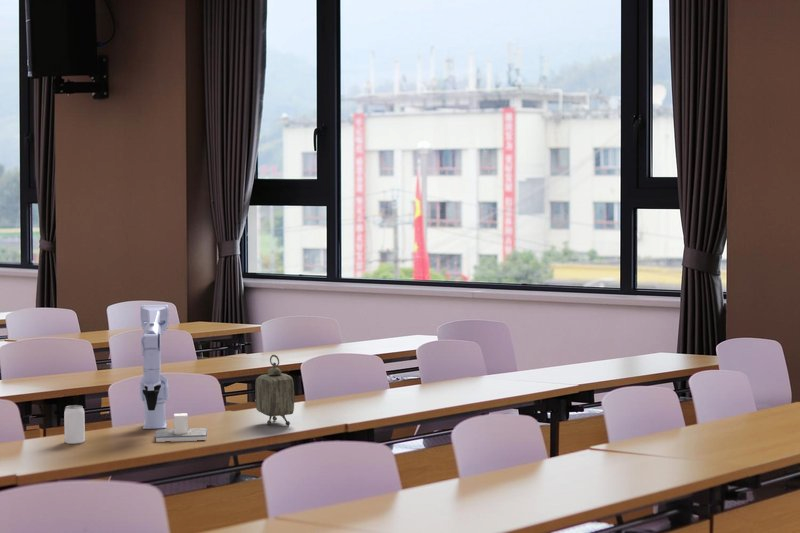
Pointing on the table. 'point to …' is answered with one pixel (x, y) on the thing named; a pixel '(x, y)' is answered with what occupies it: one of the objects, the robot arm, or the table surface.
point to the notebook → (181, 435)
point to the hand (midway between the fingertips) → (152, 408)
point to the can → (74, 424)
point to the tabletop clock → (275, 393)
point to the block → (180, 423)
